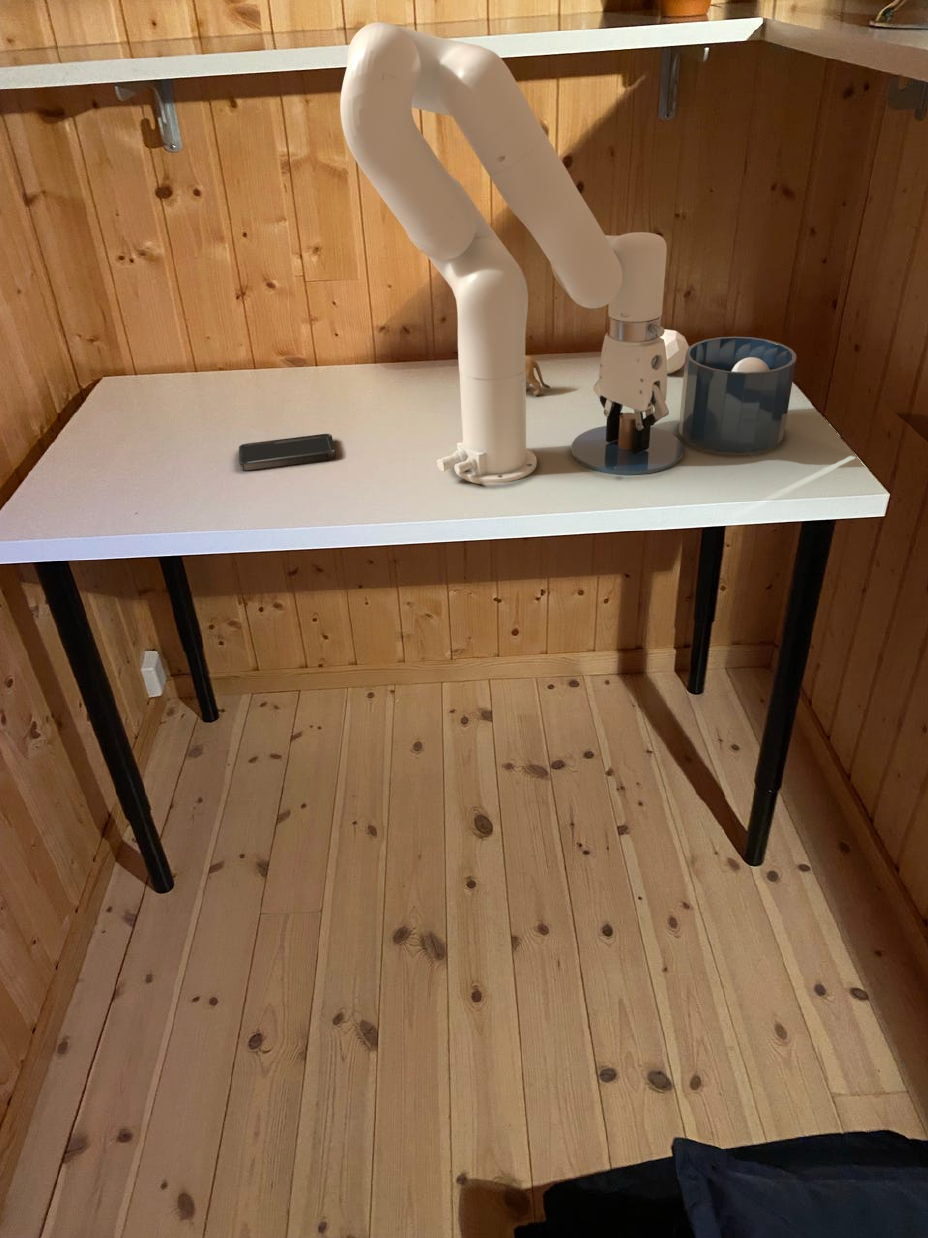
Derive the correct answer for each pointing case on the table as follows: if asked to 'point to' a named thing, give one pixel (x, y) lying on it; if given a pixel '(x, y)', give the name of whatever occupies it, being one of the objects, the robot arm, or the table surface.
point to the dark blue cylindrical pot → (735, 395)
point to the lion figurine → (530, 376)
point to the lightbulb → (750, 365)
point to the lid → (626, 450)
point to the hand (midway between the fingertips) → (627, 444)
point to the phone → (286, 451)
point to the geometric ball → (674, 349)
